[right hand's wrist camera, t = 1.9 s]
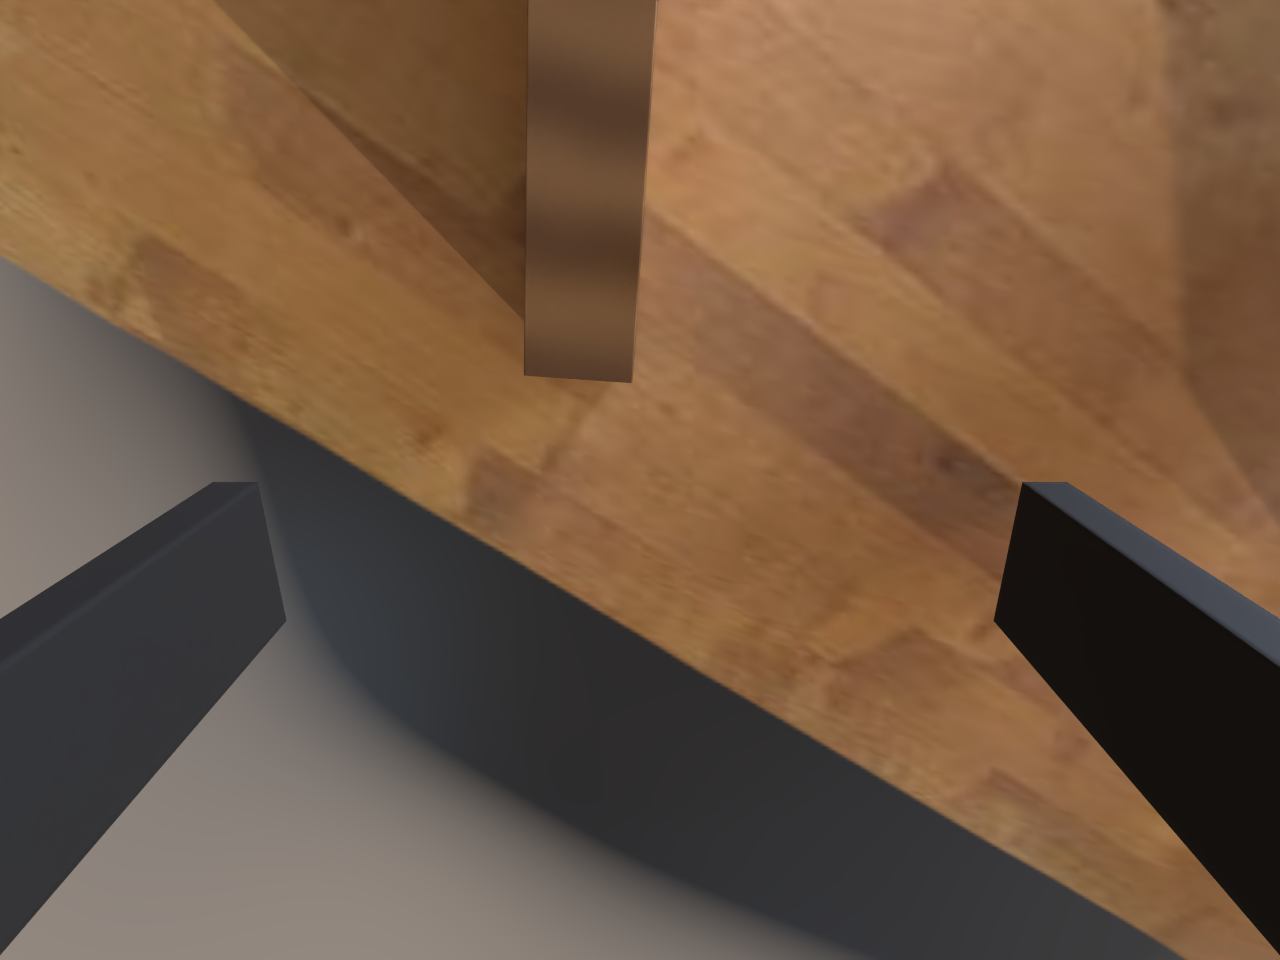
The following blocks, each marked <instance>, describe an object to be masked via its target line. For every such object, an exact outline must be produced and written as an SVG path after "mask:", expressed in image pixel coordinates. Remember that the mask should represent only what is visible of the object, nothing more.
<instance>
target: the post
mask: <svg viewBox="0 0 1280 960" xmlns="http://www.w3.org/2000/svg"><path fill="white" fill-rule="evenodd" d="M657 7H658V0H528V14H527V117H526V219H525V321H524V375H525V376H540V377H554V378H568V379H583V380H597V381H612V382H626V383H632V380H633V367H634V355H635V341H636V326H637V311H638V295H639V280H640V265H641V250H642V235H643V220H644V204H645V189H646V174H647V159H648V144H649V129H650V113H651V98H652V83H653V68H654V53H655V38H656V22H657Z"/></svg>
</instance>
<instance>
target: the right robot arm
mask: <svg viewBox="0 0 1280 960" xmlns="http://www.w3.org/2000/svg"><path fill="white" fill-rule="evenodd" d="M285 622H286V617H285V612H284V607H283V602H282V597H281V593H280V588H279V583H278V578H277V573H276V569H275V564H274V559H273V554H272V549H271V545H270V540H269V535H268V530H267V525H266V520H265V516H264V511H263V506H262V501H261V496H260V492H259V487H258V483H257V482H212V483H211V484H209V485H208V486H206V487H205V488H203V489H202V490H200V491H198V492H197V493H195V494H194V495H192V496H191V497H189V498H188V499H186V500H185V501H183V502H181V503H180V504H178V505H177V506H175V507H174V508H172V509H170V510H169V511H167V512H166V513H164V514H163V515H161V516H160V517H158V518H157V519H155V520H153V521H152V522H150V523H149V524H147V525H146V526H144V527H143V528H141V529H139V530H138V531H136V532H135V533H133V534H132V535H130V536H129V537H127V538H125V539H124V540H122V541H121V542H119V543H118V544H116V545H115V546H113V547H111V548H110V549H108V550H107V551H105V552H104V553H102V554H101V555H99V556H98V557H96V558H94V559H93V560H91V561H90V562H88V563H87V564H85V565H83V566H82V567H80V568H79V569H77V570H76V571H74V572H73V573H71V574H70V575H68V576H66V577H65V578H63V579H62V580H60V581H59V582H57V583H55V584H54V585H52V586H51V587H49V588H48V589H46V590H45V591H43V592H41V593H40V594H38V595H37V596H35V597H34V598H32V599H31V600H29V601H28V602H26V603H24V604H23V605H21V606H20V607H18V608H17V609H15V610H14V611H12V612H10V613H9V614H7V615H6V616H4V617H3V618H1V619H0V955H1V954H2V952H3V951H4V950H5V949H6V948H7V947H8V945H9V944H10V943H11V942H12V941H13V940H14V938H15V937H16V936H17V935H18V934H19V932H20V931H21V930H22V929H23V928H24V927H25V925H26V924H27V923H28V922H29V921H30V920H31V918H32V917H33V916H34V915H35V914H36V913H37V911H38V910H39V909H40V908H41V907H42V906H43V904H44V903H45V902H46V901H47V900H48V899H49V897H50V896H51V895H52V894H53V893H54V892H55V890H56V889H57V888H58V887H59V886H60V885H61V883H62V882H63V881H64V880H65V879H66V878H67V876H68V875H69V874H70V873H71V872H72V871H73V869H74V868H75V867H76V866H77V865H78V864H79V862H80V861H81V860H82V859H83V858H84V856H85V855H86V854H87V853H88V852H89V851H90V850H91V848H92V847H93V846H94V845H95V844H96V843H97V841H98V840H99V839H100V838H101V837H102V836H103V834H104V833H105V832H106V831H107V830H108V829H109V827H110V826H111V825H112V824H113V823H114V821H115V820H116V819H117V818H118V817H119V816H120V815H121V813H122V812H123V811H124V810H125V809H126V807H127V806H128V805H129V804H130V803H131V802H132V800H133V799H134V798H135V797H136V796H137V795H138V793H139V792H140V791H141V790H142V789H143V788H144V786H145V785H146V784H147V783H148V782H149V781H150V779H151V778H152V777H153V776H154V775H155V774H156V772H157V771H158V770H159V769H160V768H161V767H162V765H163V764H164V763H165V762H166V761H167V759H168V758H169V757H170V756H171V755H172V754H173V753H174V751H175V750H176V749H177V748H178V747H179V746H180V744H181V743H182V742H183V741H184V740H185V739H186V737H187V736H188V735H189V734H190V733H191V732H192V730H193V729H194V728H195V727H196V726H197V725H198V723H199V722H200V721H201V720H202V719H203V718H204V716H205V715H206V714H207V713H208V712H209V710H210V709H211V708H212V707H213V706H214V705H215V703H216V702H217V701H218V700H219V699H220V698H221V696H222V695H223V694H224V693H225V692H226V691H227V689H228V688H229V687H230V686H231V685H232V684H233V682H234V681H235V680H236V679H237V678H238V677H239V675H240V674H241V673H242V672H243V671H244V670H245V668H246V667H247V666H248V665H249V664H250V663H251V661H252V660H253V659H254V658H255V657H256V656H257V654H258V653H259V652H260V651H261V650H262V649H263V647H264V646H265V645H266V644H267V643H268V642H269V640H270V639H271V638H272V637H273V636H274V634H275V633H276V632H277V631H278V630H279V629H280V627H281V626H282V625H283V624H284V623H285ZM994 622H995V623H996V624H997V625H998V626H999V628H1000V629H1001V630H1002V631H1003V632H1004V633H1005V635H1006V636H1007V637H1008V638H1009V639H1010V640H1011V642H1012V643H1013V644H1014V645H1015V646H1016V647H1017V649H1018V650H1019V651H1020V652H1021V653H1022V654H1023V656H1024V657H1025V658H1026V659H1027V660H1028V661H1029V663H1030V664H1031V665H1032V666H1033V667H1034V668H1035V670H1036V671H1037V672H1038V673H1039V674H1040V675H1041V677H1042V678H1043V679H1044V680H1045V681H1046V682H1047V684H1048V685H1049V686H1050V687H1051V688H1052V689H1053V691H1054V692H1055V693H1056V694H1057V695H1058V696H1059V698H1060V699H1061V700H1062V701H1063V702H1064V703H1065V705H1066V706H1067V707H1068V708H1069V709H1070V710H1071V712H1072V713H1073V714H1074V715H1075V716H1076V718H1077V719H1078V720H1079V721H1080V722H1081V723H1082V725H1083V726H1084V727H1085V728H1086V729H1087V730H1088V732H1089V733H1090V734H1091V735H1092V736H1093V737H1094V739H1095V740H1096V741H1097V742H1098V743H1099V744H1100V746H1101V747H1102V748H1103V749H1104V750H1105V751H1106V753H1107V754H1108V755H1109V756H1110V757H1111V758H1112V760H1113V761H1114V762H1115V763H1116V764H1117V765H1118V767H1119V768H1120V769H1121V770H1122V771H1123V772H1124V774H1125V775H1126V776H1127V777H1128V778H1129V779H1130V781H1131V782H1132V783H1133V784H1134V785H1135V786H1136V788H1137V789H1138V790H1139V791H1140V792H1141V793H1142V795H1143V796H1144V797H1145V798H1146V799H1147V800H1148V802H1149V803H1150V804H1151V805H1152V806H1153V807H1154V809H1155V810H1156V811H1157V812H1158V813H1159V815H1160V816H1161V817H1162V818H1163V819H1164V820H1165V822H1166V823H1167V824H1168V825H1169V826H1170V827H1171V829H1172V830H1173V831H1174V832H1175V833H1176V834H1177V836H1178V837H1179V838H1180V839H1181V840H1182V841H1183V843H1184V844H1185V845H1186V846H1187V847H1188V848H1189V850H1190V851H1191V852H1192V853H1193V854H1194V855H1195V857H1196V858H1197V859H1198V860H1199V861H1200V862H1201V864H1202V865H1203V866H1204V867H1205V868H1206V869H1207V871H1208V872H1209V873H1210V874H1211V875H1212V876H1213V878H1214V879H1215V880H1216V881H1217V882H1218V883H1219V885H1220V886H1221V887H1222V888H1223V889H1224V890H1225V892H1226V893H1227V894H1228V895H1229V896H1230V897H1231V899H1232V900H1233V901H1234V902H1235V903H1236V904H1237V906H1238V907H1239V908H1240V909H1241V910H1242V912H1243V913H1244V914H1245V915H1246V916H1247V917H1248V919H1249V920H1250V921H1251V922H1252V923H1253V924H1254V926H1255V927H1256V928H1257V929H1258V930H1259V931H1260V933H1261V934H1262V935H1263V936H1264V937H1265V938H1266V940H1267V941H1268V942H1269V943H1270V944H1271V945H1272V947H1273V948H1274V949H1275V950H1276V951H1277V952H1278V954H1279V955H1280V619H1279V618H1277V617H1276V616H1274V615H1273V614H1271V613H1270V612H1268V611H1266V610H1265V609H1263V608H1262V607H1260V606H1259V605H1257V604H1256V603H1254V602H1252V601H1251V600H1249V599H1248V598H1246V597H1245V596H1243V595H1242V594H1240V593H1239V592H1237V591H1235V590H1234V589H1232V588H1231V587H1229V586H1228V585H1226V584H1225V583H1223V582H1221V581H1220V580H1218V579H1217V578H1215V577H1214V576H1212V575H1211V574H1209V573H1207V572H1206V571H1204V570H1203V569H1201V568H1200V567H1198V566H1197V565H1195V564H1193V563H1192V562H1190V561H1189V560H1187V559H1186V558H1184V557H1183V556H1181V555H1179V554H1178V553H1176V552H1175V551H1173V550H1172V549H1170V548H1169V547H1167V546H1165V545H1164V544H1162V543H1161V542H1159V541H1158V540H1156V539H1155V538H1153V537H1151V536H1150V535H1148V534H1147V533H1145V532H1144V531H1142V530H1141V529H1139V528H1137V527H1136V526H1134V525H1133V524H1131V523H1130V522H1128V521H1127V520H1125V519H1123V518H1122V517H1120V516H1119V515H1117V514H1116V513H1114V512H1113V511H1111V510H1110V509H1108V508H1106V507H1105V506H1103V505H1102V504H1100V503H1099V502H1097V501H1096V500H1094V499H1092V498H1091V497H1089V496H1088V495H1086V494H1085V493H1083V492H1082V491H1080V490H1078V489H1077V488H1075V487H1074V486H1072V485H1071V484H1069V483H1068V482H1022V487H1021V492H1020V496H1019V501H1018V506H1017V511H1016V516H1015V520H1014V525H1013V530H1012V535H1011V540H1010V544H1009V549H1008V554H1007V559H1006V564H1005V569H1004V573H1003V578H1002V583H1001V588H1000V593H999V597H998V602H997V607H996V612H995V617H994Z"/></svg>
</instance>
